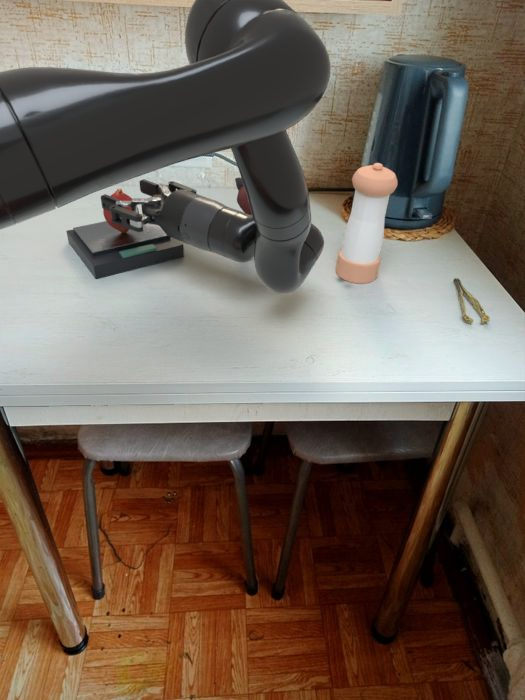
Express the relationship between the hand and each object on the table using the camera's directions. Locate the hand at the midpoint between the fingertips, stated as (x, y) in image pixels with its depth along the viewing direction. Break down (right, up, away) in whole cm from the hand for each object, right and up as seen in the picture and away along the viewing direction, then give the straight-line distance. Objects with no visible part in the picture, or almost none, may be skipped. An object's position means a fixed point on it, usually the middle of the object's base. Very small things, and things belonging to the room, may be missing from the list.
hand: (122, 192), depth 84 cm
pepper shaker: (+40, -12, +6) cm, 42 cm away
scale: (-1, -8, +7) cm, 11 cm away
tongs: (+56, -18, 0) cm, 59 cm away
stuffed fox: (+21, -7, +10) cm, 24 cm away
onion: (-1, -5, +5) cm, 8 cm away
